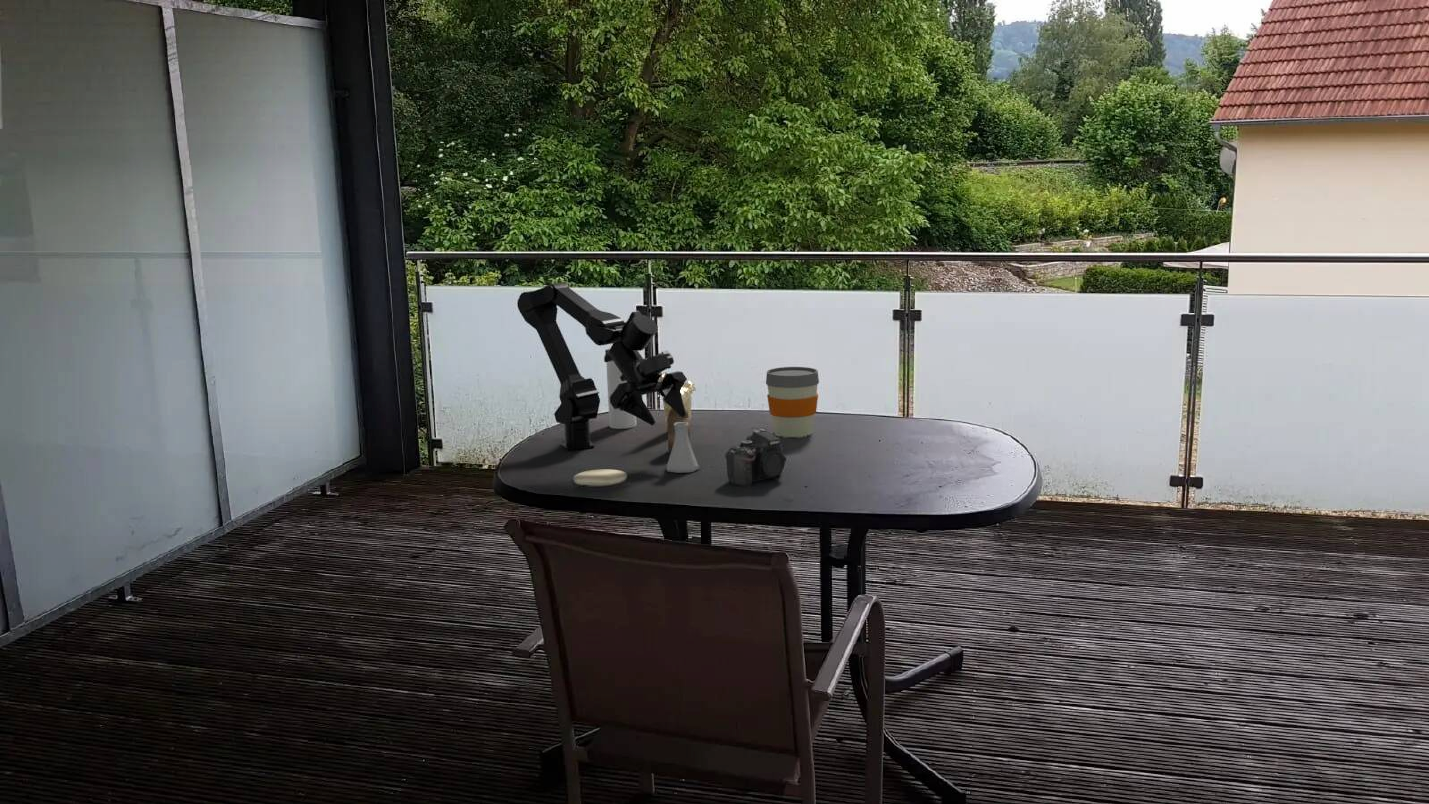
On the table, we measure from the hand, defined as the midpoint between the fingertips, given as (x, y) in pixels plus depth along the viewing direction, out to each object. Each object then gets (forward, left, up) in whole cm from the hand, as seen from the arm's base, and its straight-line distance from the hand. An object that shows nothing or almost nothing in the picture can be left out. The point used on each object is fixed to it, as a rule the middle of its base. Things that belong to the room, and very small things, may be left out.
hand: (669, 420), depth 243 cm
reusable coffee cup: (-17, +36, -10) cm, 41 cm away
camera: (+17, +14, -11) cm, 24 cm away
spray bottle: (-43, +1, -10) cm, 44 cm away
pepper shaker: (-12, +6, -10) cm, 17 cm away
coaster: (+3, -16, -10) cm, 20 cm away
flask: (+3, +2, -11) cm, 11 cm away
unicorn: (-32, +12, -10) cm, 36 cm away
